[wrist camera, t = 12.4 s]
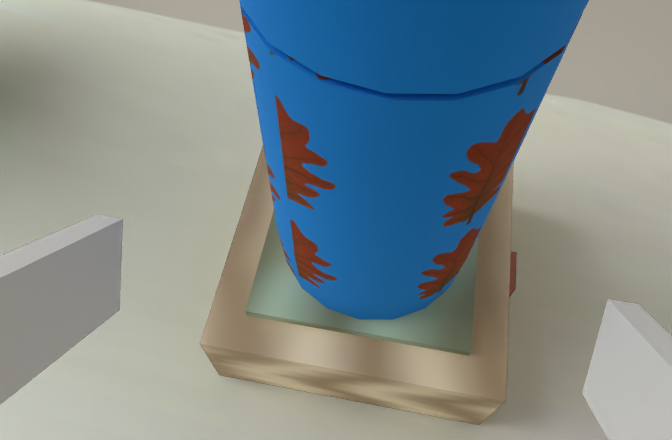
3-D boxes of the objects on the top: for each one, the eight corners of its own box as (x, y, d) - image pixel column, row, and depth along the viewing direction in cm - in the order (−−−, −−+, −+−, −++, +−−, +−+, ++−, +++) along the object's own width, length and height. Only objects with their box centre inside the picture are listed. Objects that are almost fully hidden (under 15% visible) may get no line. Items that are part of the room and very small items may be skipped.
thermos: (457, 160, 35) (656, -458, 14) (479, 323, 30) (868, -275, 8) (283, 159, 35) (208, -464, 14) (273, 322, 30) (122, -283, 8)
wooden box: (219, 374, 35) (197, 339, 29) (279, 168, 43) (271, 109, 37) (488, 426, 33) (521, 401, 28) (499, 203, 41) (526, 147, 36)
